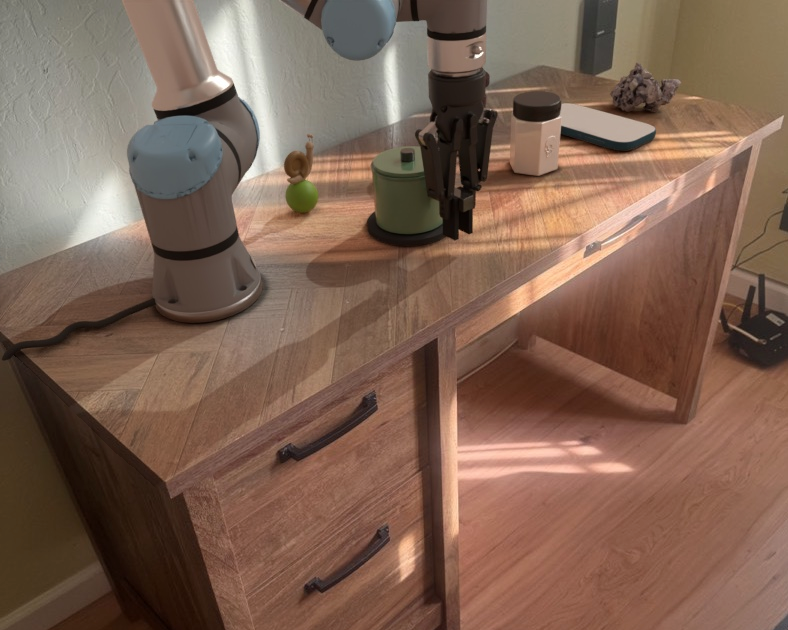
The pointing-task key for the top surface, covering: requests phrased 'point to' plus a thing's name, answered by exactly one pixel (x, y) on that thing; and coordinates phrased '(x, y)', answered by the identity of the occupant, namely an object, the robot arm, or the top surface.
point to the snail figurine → (300, 180)
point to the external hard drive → (604, 128)
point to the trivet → (403, 235)
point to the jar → (535, 132)
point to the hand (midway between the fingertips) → (457, 233)
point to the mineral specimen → (643, 90)
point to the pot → (406, 193)
